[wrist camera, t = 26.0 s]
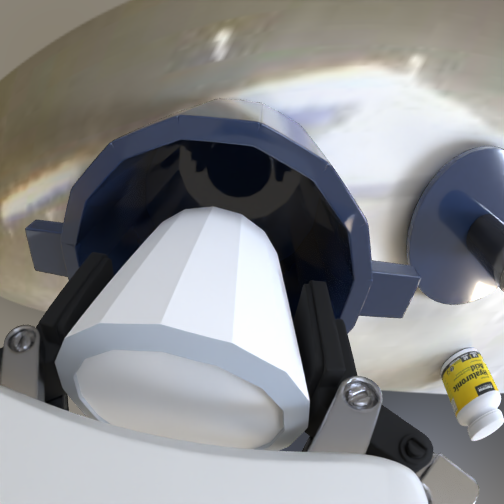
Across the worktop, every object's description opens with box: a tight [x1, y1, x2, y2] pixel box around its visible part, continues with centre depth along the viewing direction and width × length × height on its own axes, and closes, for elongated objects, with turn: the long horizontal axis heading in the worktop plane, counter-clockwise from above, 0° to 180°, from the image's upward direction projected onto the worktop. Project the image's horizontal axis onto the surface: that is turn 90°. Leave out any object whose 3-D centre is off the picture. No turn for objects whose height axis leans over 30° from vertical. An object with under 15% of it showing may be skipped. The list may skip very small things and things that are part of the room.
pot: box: [25, 98, 421, 334], centre depth 16 cm, size 13×18×10 cm
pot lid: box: [407, 146, 504, 305], centre depth 18 cm, size 14×14×6 cm
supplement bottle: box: [440, 348, 504, 441], centre depth 24 cm, size 5×5×10 cm
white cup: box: [55, 206, 310, 451], centre depth 10 cm, size 7×7×7 cm
